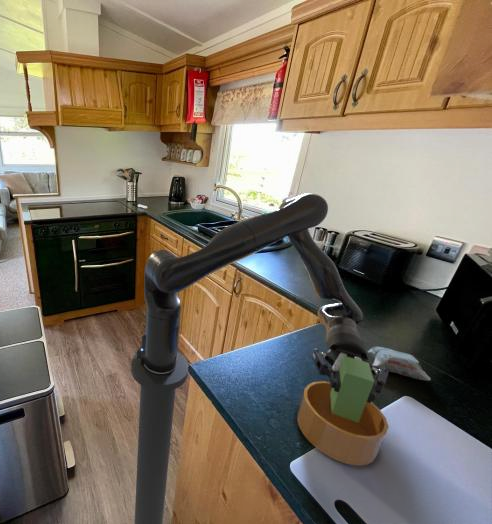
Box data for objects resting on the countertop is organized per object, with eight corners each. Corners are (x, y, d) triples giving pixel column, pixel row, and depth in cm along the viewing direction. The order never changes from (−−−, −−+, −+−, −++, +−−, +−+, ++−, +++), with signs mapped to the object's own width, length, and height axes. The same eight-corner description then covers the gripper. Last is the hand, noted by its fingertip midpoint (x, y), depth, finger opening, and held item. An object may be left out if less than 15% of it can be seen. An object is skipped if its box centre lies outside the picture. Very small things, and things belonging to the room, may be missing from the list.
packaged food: (426, 387, 74) (433, 372, 73) (370, 371, 79) (375, 356, 78) (415, 368, 82) (422, 353, 80) (364, 354, 87) (369, 340, 85)
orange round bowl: (295, 442, 58) (303, 416, 56) (298, 396, 70) (304, 372, 68) (383, 480, 52) (396, 452, 50) (369, 422, 64) (380, 397, 61)
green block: (331, 413, 57) (345, 372, 54) (330, 393, 62) (342, 355, 59) (358, 423, 55) (374, 381, 52) (354, 401, 60) (369, 362, 57)
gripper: (314, 323, 70) (315, 364, 56) (387, 342, 64) (409, 393, 50) (307, 349, 73) (306, 394, 59) (377, 369, 67) (394, 425, 52)
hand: (353, 393), depth 54 cm, fingers closed on green block, 4 cm apart
